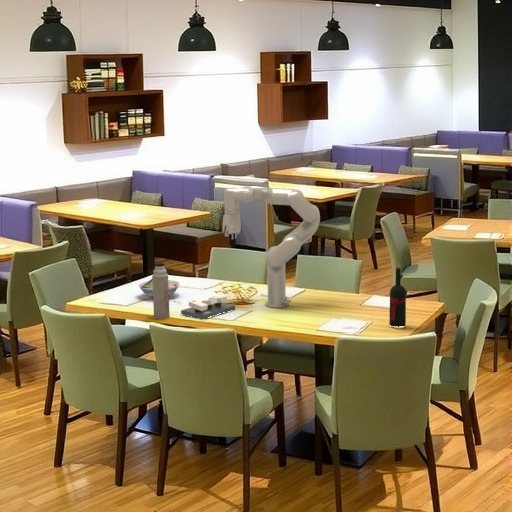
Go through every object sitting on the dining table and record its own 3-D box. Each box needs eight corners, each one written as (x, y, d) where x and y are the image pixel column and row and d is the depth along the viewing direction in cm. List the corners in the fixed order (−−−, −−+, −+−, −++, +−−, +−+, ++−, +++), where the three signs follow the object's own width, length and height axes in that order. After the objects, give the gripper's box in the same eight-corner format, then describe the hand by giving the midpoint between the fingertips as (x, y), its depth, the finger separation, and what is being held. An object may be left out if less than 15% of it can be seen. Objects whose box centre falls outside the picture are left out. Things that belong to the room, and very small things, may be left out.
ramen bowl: (171, 303, 514) (170, 288, 513) (132, 301, 520) (131, 286, 518) (186, 292, 538) (186, 278, 536) (148, 290, 544) (148, 276, 542)
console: (235, 310, 498) (235, 303, 497) (203, 319, 480) (203, 312, 479) (212, 305, 508) (212, 298, 507) (181, 315, 490) (180, 307, 489)
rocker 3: (227, 301, 497) (226, 296, 497) (221, 302, 494) (220, 297, 494) (214, 300, 503) (214, 296, 503) (208, 302, 500) (208, 297, 499)
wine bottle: (384, 328, 458) (385, 267, 452) (393, 323, 466) (393, 263, 460) (399, 330, 454) (400, 269, 448) (408, 325, 462) (409, 265, 456)
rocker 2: (217, 302, 491) (216, 297, 491) (211, 304, 488) (210, 299, 488) (205, 305, 497) (204, 300, 497) (199, 306, 494) (198, 302, 494)
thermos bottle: (172, 316, 488) (170, 262, 482) (163, 320, 481) (161, 265, 475) (160, 314, 492) (158, 261, 486) (150, 318, 485) (148, 264, 479)
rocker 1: (207, 309, 486) (207, 304, 486) (201, 311, 483) (201, 306, 482) (194, 304, 492) (195, 299, 491) (188, 305, 488) (189, 301, 488)
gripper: (235, 209, 505) (236, 243, 509) (216, 213, 494) (217, 247, 498) (246, 210, 501) (247, 244, 504) (227, 214, 490) (228, 249, 493)
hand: (232, 246), depth 501 cm, fingers closed
